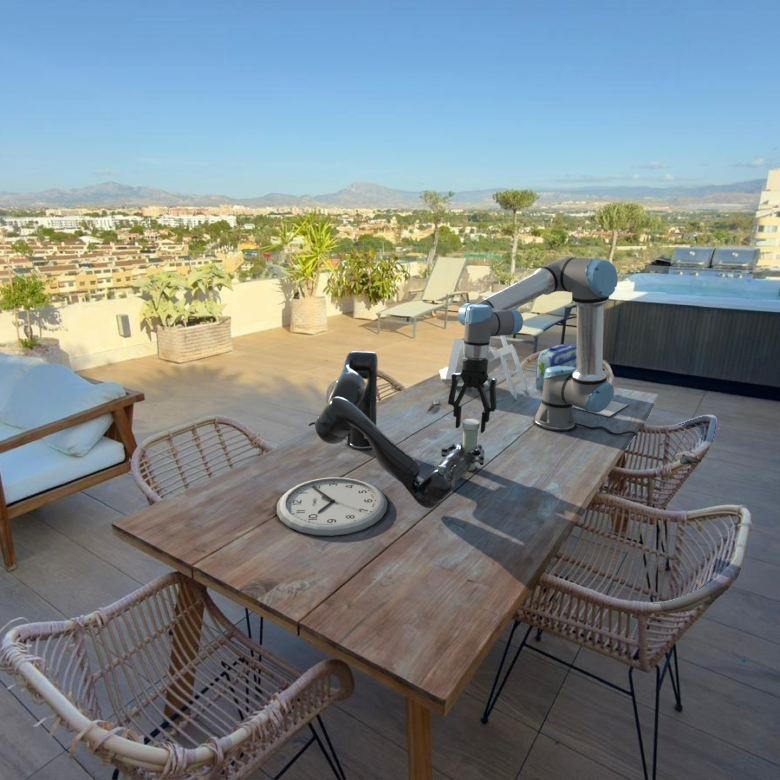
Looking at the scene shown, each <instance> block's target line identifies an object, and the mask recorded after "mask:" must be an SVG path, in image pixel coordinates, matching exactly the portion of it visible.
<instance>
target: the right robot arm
mask: <svg viewBox="0 0 780 780" xmlns="http://www.w3.org/2000/svg"><path fill="white" fill-rule="evenodd" d="M618 278H619V276H618V272H617V269H616V266H615V265H613V264H612V262H610V261H609V260H606V259H600V258H588V257H575V256H574V257H573V256H571V257H570V256H569V257H564V258H560V259H557V260H555V261H552V262H550V263H548V264H545V265H544V266H541V267H538V268H537V269H536V270H535V271H534V273H533V274H531V275H530V276H527V277H526V278H523V279H522V280H519V281H517V282H516V283H514V284H512V285H510V286H508V287H506V288H504V289H502V290H501V291H499V292H496V293H494V294H492V295H490V296H489V297H487V298H485V299H482V300H481V301H478V302H476V303H473V302H469V303H468V302H467V303H464V304H462V305H461V306H460V307H459V309H458V312H457V319H458V321H459V323H460V324H461V325H462V326H464V336H463V340H464V349H463V356H464V358H463V363H462V372H461V373H454V374H453V375H452V376H451V377H452V384H450V391H449V395H448V400H447V404H448V405H450V406H452V407H453V412H452V413H453V414H452V416H453V417H454V418H455V427H454V428H455V429H459V428H460V426H461V420H462V406H463V405H461V402H462V400H463V398H464V396H465V394H466V392H467V390H468V388H469V389H470V388H473V389H476V390H477V392H478V394H479V398H480V400H481V404H482V407H483V411H482V412H481V421H480V433H482V434H483V433H485V431H486V423H488V422H489V421H490V417H491V415H490V414H491V413H492V412H493V413H494V412H495V411H496V409H497V408H498V407H497V391H496V385H497V383H498V379H497V378H496V377H494V378H493V377H490V376H489V374H487V368H488V359H487V357H488V356H489V345H490V343H491V337H500V336H502V335H505V336H511V335H516V334H519V332H521V331H522V329H523V326H524V317H523V315H522V313H521V312H520V311H519V310H517V309H518V308H520V307H521V306H524V305H526V304H528V303H529V302H532V301H533V300H535V299H537V298H539V297H541V296H543V295H546V296H548V295H551V294H553V293H555V292H556V293H557V292H565V293H566V292H567V293H571V302H572V303H573V304H575V305H576V347H577V369H576V368H575V367H570V366H555V367H549V368H547V369H546V370H545V375H544V378H543V379H544V380H543V391H541V402H540V405H539V407H538V408H537V411H536V413H535V417H534V424H535V425H536V426H537V427H539V428H542V429H544V430H549V431H556V432H567V431H572V430H574V429H575V428H576V426H580V427H583V428H586V429H590V430H594V429H602V430H605V431H606V432H608V433H609V434H611V435H614V436H623V435H626V434H633V435H634V436H639V435H638V433H637V432H635V431H634V430H627V431H622V432H613V431H612V430H610V429H608V428H607V427H605V426H600V425H599V426H597V425H596V426H590V425H586V424H582V423H579V422H576V418H575V417H576V416H575V413H574V407H579V408H582V409H585V410H586V411H585V412H588V411H591V412H590V413H592V412H595V413H594V414H596V413H597V412H601V411H602V410H604V409H605V408H606V407H607V406H608V405H609V403H610V402H611V401H613V398H614V394H615V387H614V385H613V384H612V383H611V382H610V381H608V373H607V372H606V371H605V370H604V369H603V365H604V364H603V358H604V324H605V323H604V319H605V317H604V316H605V315H604V314H605V310H604V309H605V304H606V303H607V302H608V301H609V299H610V296H611V295H613V294H614V293H615V291H616V287H618V283H619V281H618V280H619V279H618ZM460 377H461V378H462V380H463V382H464V383H462V386H461V389H460V390H459V393H458V394H457V389H458V380H459V379H460ZM486 382H487V384H488V385H489V398H488V395H487V393H486V392H487V391H486V388H485V383H486ZM456 394H457V397H456ZM573 406H574V407H573Z"/></svg>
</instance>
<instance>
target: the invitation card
mask: <svg viewBox="0 0 780 780" xmlns="http://www.w3.org/2000/svg"><path fill="white" fill-rule="evenodd" d="M628 406H629V404H627V403H623V402H618V401H614V400H611V402H610V403H609V405H608V406H607V407H606V408H605V409H604V410H602V411H601V412H597V413H595V412H591V411H586V410H585V409H582V408H579V407H576V406H574V407H573V409H575V410H581V411H584V412H587V413H593V414H596V415H600V416H604V417H608V418H609V417H611V416H613V415H614V414H616V413H617V412H619V411H621V410H623V409H624V408H626V407H628Z"/></svg>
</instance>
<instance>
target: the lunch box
mask: <svg viewBox="0 0 780 780" xmlns="http://www.w3.org/2000/svg"><path fill="white" fill-rule="evenodd" d="M555 366H570V367H575V368H576V369H577V346H572V345H566V344H559V345H555V346H552V347H549V348H547V349H544V350H542V351H541V352H540V353H539V355H538V357H537V362H536V374H535V389H536V390H537V391H541V392H542V391H543V380H544V379H543V378H544V375H545V370H546V369H547V368H549V367H555Z"/></svg>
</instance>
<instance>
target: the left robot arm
mask: <svg viewBox="0 0 780 780" xmlns="http://www.w3.org/2000/svg"><path fill="white" fill-rule="evenodd" d="M378 369H379V358H378V354H377V353H376V352H375V351H360V350H359V351H357V350H353V351H350V352H348V353H347V355H346V356H345V359H344V363H343V365H342V369H341V371H340V374H339V376H338V378H337V379H336V381H335V383H334V385H333V387H332V390H331V392H330V394H329V398H328V400H327V402H326V405H325V406H324V408H323V409H322V410H321V411H320V413H319V414H318V416H317V417H316V418H315V421H312V422H310V423H309V424H308V426H309V427H311V426H312V425H314V428H315V432H316V434H317V435H318V436H317V437H318V438H320V439H321V440H322V441H323V442H324V443H327V444H331V445H335V444H340V443H341V442H343V441H344V440H345V439H346V440H347V446H350V447H351V448H353V449H355V450H370V449H371V450H372V452H373V454H374V457H375V459H376V461H377V463H378V464H379V466H380V467H381V468H382V469H383V470H384V471H385V472H386V473H388V474H389V475H390V476H392V477H393V478H395V480H397V481H398V482H399V483H401V484H402V485H403V486H404V488H405V489H406V490H407V492H408V493H409V494H410V495H411V496H412V498H413V499H414V501H416V503H417V504H418V505H419V506H421V507H422V508H426V509H434V508H435V507H436V506H437V505H439V504H440V503H441V502H442V501H443V500H444V499H445V498H446V497H447V496H449V495H450V494H451V493H452V491H453V490H454V488H455V485H456V484H457V483H458V481H460V480H461V479H462V478H463V477H464V475H465V474H466V473H467V472H468V469H469V468H470V466H471V464H474V463H475V462H476V463H477V464H479V465H480V466H484V465H485V462H484V461H485V449H483V445H482V443H481V444H480V443H477V447H476V448H475V449H470V450H468V451H467V450H466V451H465V450H462V445H463V441H460V442H459V443H457V444H455V443H451V444H448V445H446V446H444V447H441V457H442V459H441V460H440V462H439V463H438V465H437V466H436V467H435V468H434V469H433V470H432V472H431V473H430V474H429V475H427V477H426V478H424V480H422V481H421V480H420V479H419V475H420V473H421V471H422V465H421V463H420V462H418V460H416V459H415V458H414V457H412V456H411V455H409V454H408V453H407V452H405V451H404V450H403V449H401V448H400V447H399V446H397V444H395V443H394V442H393V441H392V440H391V439H390V438H389V437H388V436H386V434H385V433H384V432H383V431H382V430H381V429H380V428H379V427H378V426H377V415H378V414H377V405H378V403H377V402H378V401H377V399H378V396H377V395H378V392H377V390H378V389H377V388H378V387H377V386H378ZM365 380H366V382H365Z"/></svg>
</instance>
